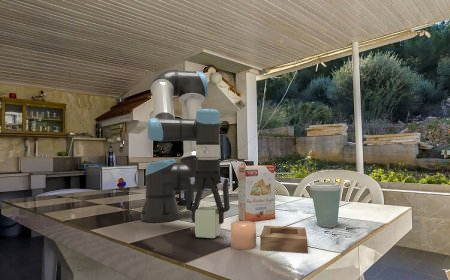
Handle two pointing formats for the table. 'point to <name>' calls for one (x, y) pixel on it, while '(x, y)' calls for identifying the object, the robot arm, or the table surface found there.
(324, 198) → the disposable coffee cup
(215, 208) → the sage block
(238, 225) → the peach block
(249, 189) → the cracker box
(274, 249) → the walnut base
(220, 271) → the table surface
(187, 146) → the robot arm
